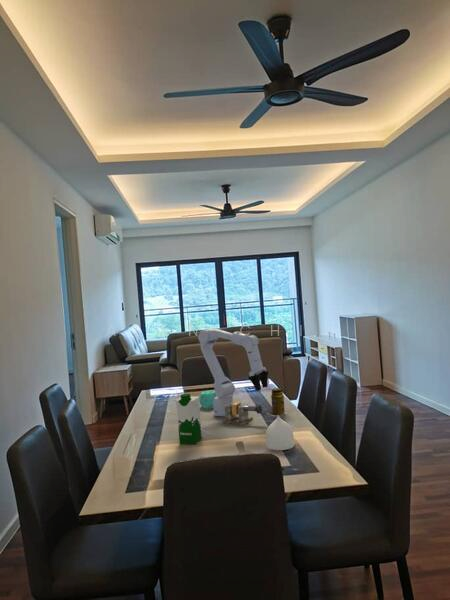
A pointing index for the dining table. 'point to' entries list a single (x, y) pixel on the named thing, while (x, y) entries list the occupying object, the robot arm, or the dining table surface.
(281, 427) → the teardrop
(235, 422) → the bearing stand
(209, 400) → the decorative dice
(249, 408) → the shaft
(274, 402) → the condiment
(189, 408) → the milk carton
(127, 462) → the dining table surface
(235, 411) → the block
